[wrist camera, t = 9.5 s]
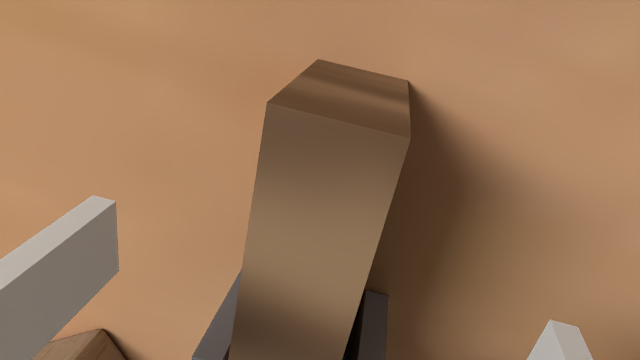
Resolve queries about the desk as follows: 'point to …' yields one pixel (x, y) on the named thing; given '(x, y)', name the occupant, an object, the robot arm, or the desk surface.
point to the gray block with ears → (361, 356)
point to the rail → (318, 210)
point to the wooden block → (81, 348)
